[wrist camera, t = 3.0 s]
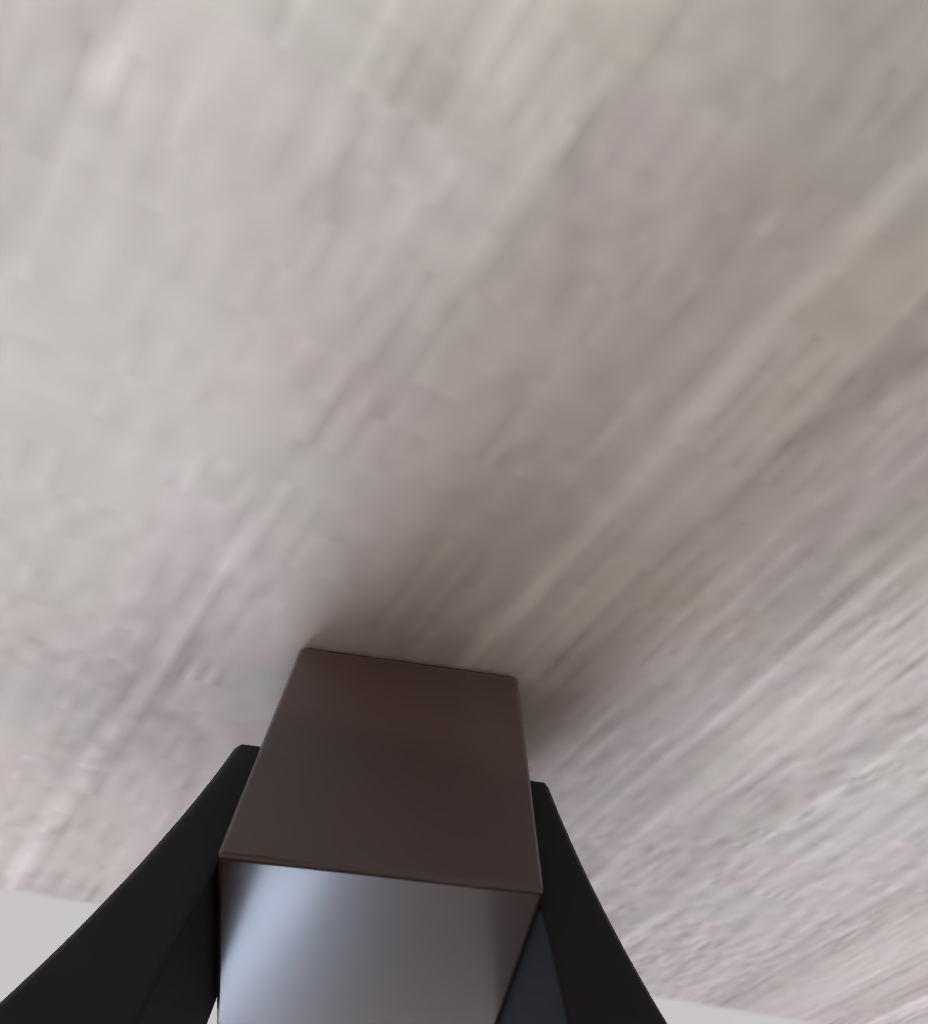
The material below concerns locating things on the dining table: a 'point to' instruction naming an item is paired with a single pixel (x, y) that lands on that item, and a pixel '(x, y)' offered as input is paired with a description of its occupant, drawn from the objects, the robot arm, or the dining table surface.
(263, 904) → the block
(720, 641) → the dining table surface
